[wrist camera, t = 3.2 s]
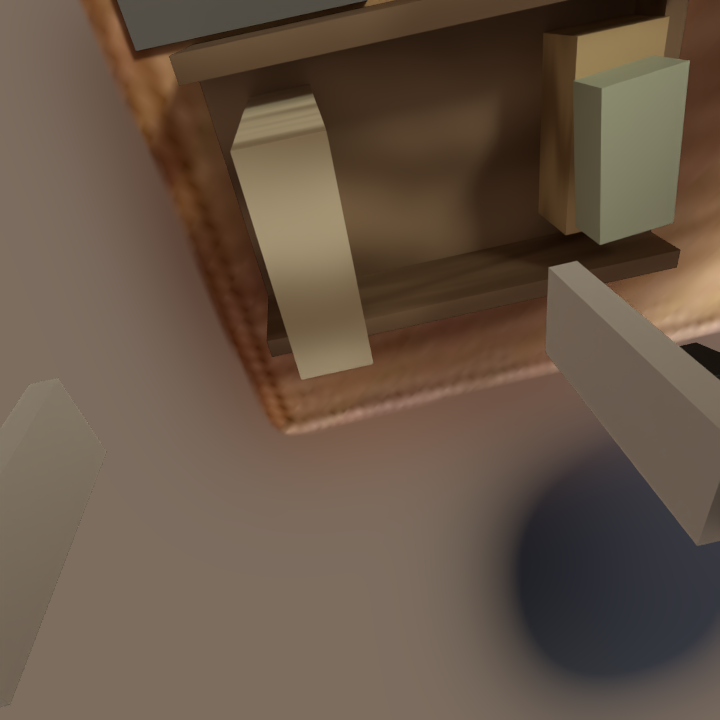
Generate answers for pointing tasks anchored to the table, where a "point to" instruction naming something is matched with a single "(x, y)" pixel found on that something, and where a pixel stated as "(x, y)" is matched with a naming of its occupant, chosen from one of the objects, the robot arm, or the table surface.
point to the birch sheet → (301, 229)
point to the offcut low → (559, 69)
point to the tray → (428, 146)
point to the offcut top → (628, 146)
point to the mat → (207, 17)
